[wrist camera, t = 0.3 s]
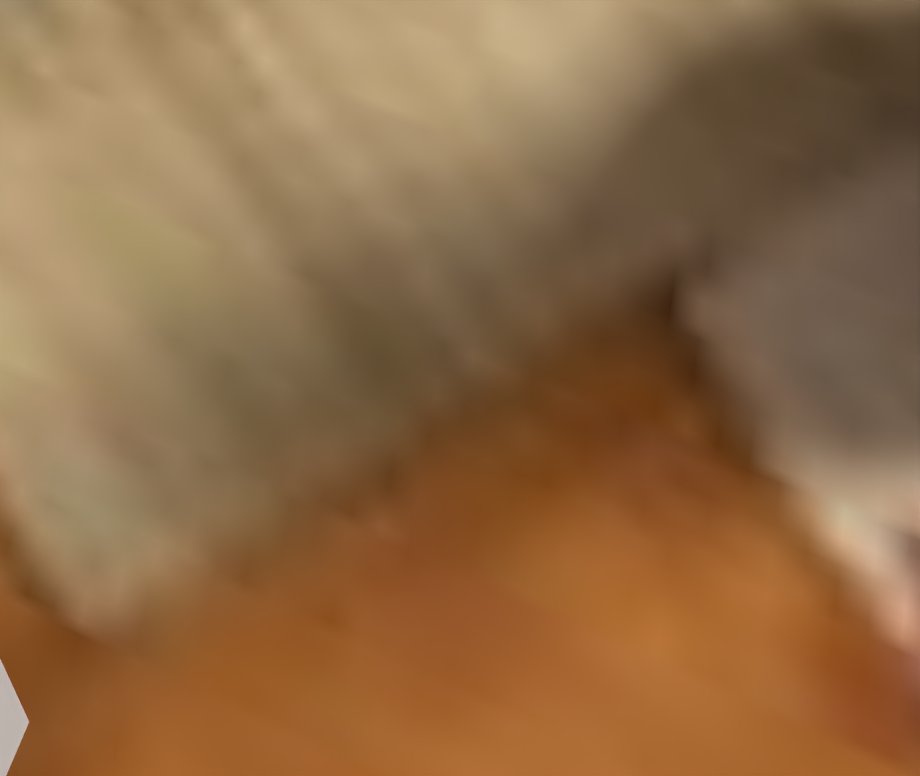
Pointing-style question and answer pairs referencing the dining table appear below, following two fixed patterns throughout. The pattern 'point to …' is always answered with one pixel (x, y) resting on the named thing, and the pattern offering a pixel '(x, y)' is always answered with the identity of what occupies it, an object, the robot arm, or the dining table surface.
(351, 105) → the dining table surface
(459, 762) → the dining table surface
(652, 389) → the dining table surface
